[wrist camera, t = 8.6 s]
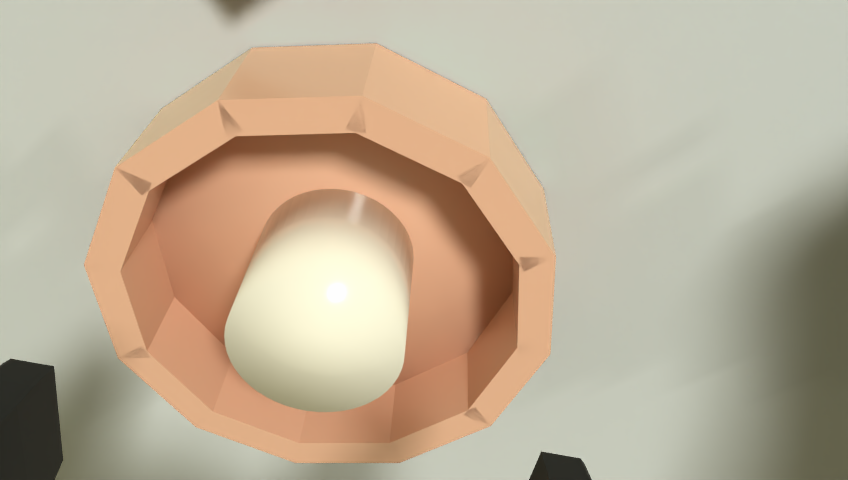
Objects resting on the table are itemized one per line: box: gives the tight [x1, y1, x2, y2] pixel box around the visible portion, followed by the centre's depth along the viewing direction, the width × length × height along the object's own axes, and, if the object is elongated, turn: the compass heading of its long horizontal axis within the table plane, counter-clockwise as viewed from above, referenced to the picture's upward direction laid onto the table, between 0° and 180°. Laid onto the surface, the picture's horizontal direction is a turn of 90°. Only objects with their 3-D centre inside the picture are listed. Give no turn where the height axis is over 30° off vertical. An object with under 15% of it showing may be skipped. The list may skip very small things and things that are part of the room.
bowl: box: [84, 43, 556, 463], centre depth 19 cm, size 11×11×3 cm
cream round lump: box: [224, 189, 414, 412], centre depth 18 cm, size 4×4×4 cm
